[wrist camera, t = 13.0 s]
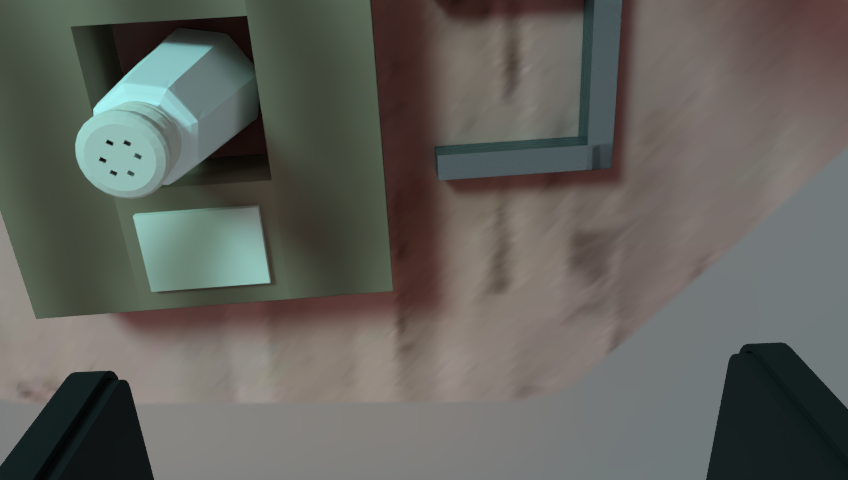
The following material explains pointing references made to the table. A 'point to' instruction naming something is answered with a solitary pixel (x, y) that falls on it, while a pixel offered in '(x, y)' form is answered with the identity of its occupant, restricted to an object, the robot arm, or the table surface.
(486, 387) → the table surface
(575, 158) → the u-shaped bracket
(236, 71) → the salt shaker
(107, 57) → the socket block
